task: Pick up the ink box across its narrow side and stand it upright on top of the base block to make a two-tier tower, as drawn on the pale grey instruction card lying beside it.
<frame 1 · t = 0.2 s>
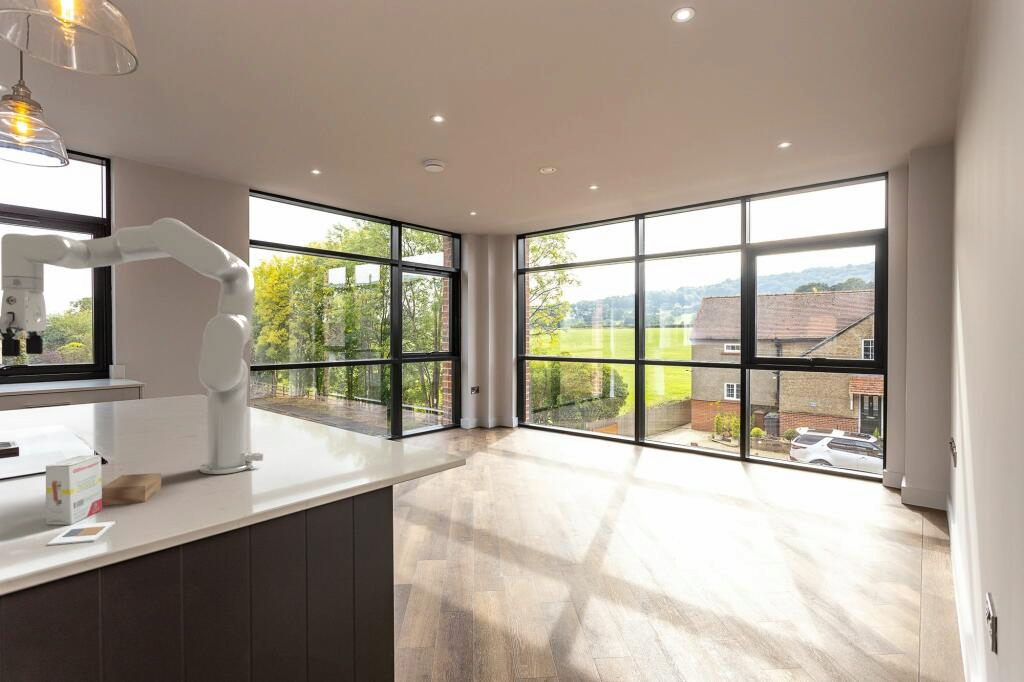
hand: (23, 355, 126), 31 cm above the worktop, fingers open, 9 cm apart
instruction card: (83, 533, 96), on the worktop
ink box: (74, 518, 104), on the worktop
base block: (133, 497, 117), on the worktop
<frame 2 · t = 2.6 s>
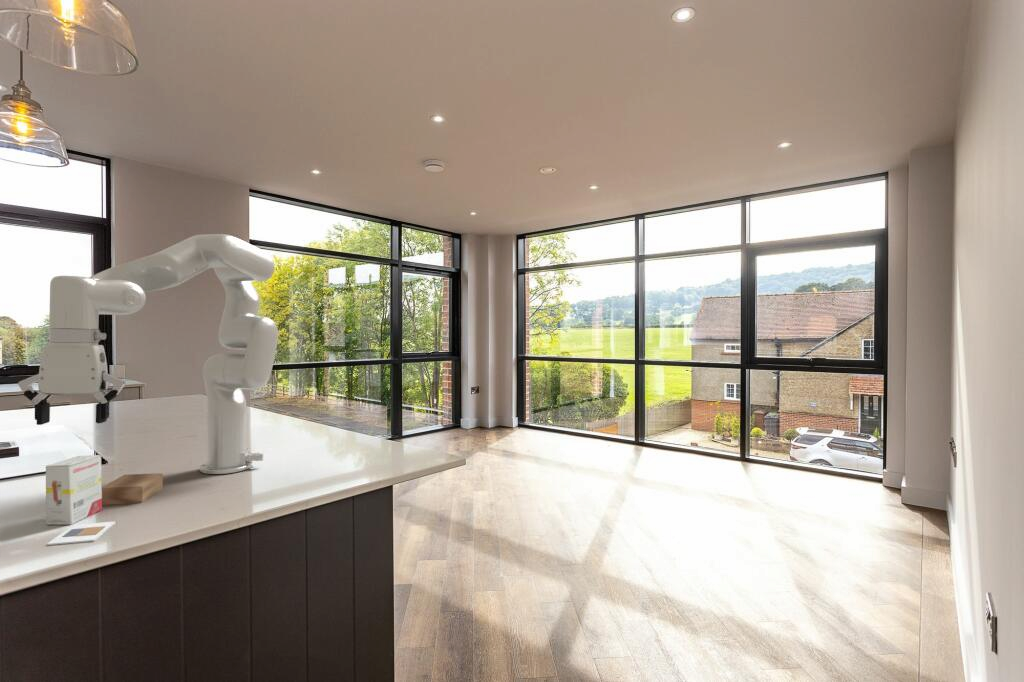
hand: (72, 422, 103), 19 cm above the worktop, fingers open, 9 cm apart
nothing on the worktop moved.
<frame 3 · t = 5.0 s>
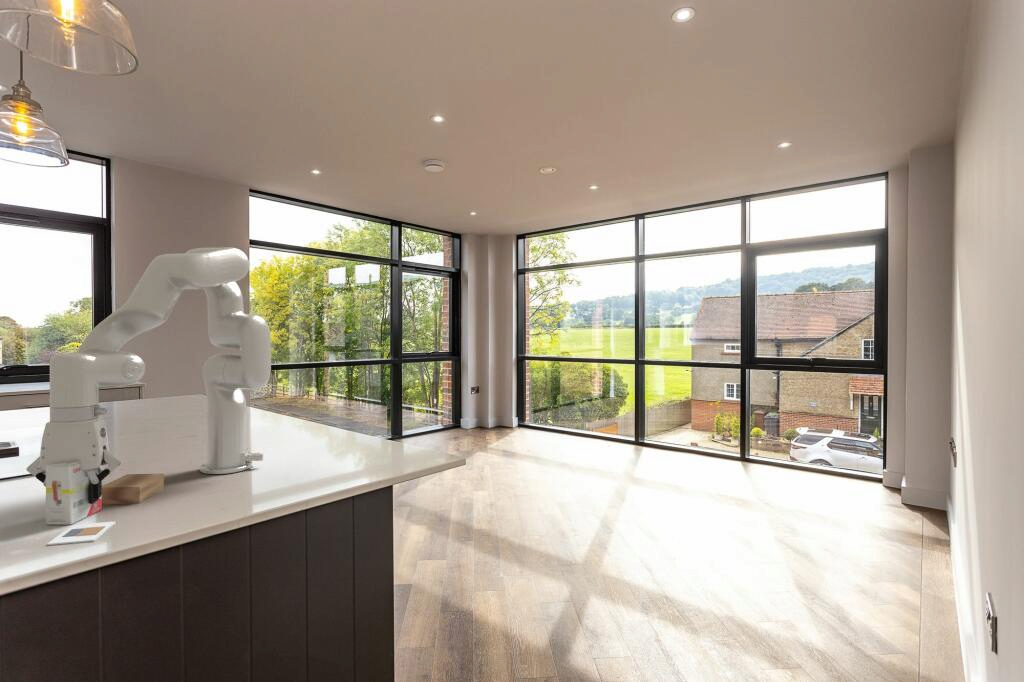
hand: (74, 502, 104), 3 cm above the worktop, fingers closed on ink box, 5 cm apart
ink box: (74, 518, 104), on the worktop, touching gripper
everything else where it was.
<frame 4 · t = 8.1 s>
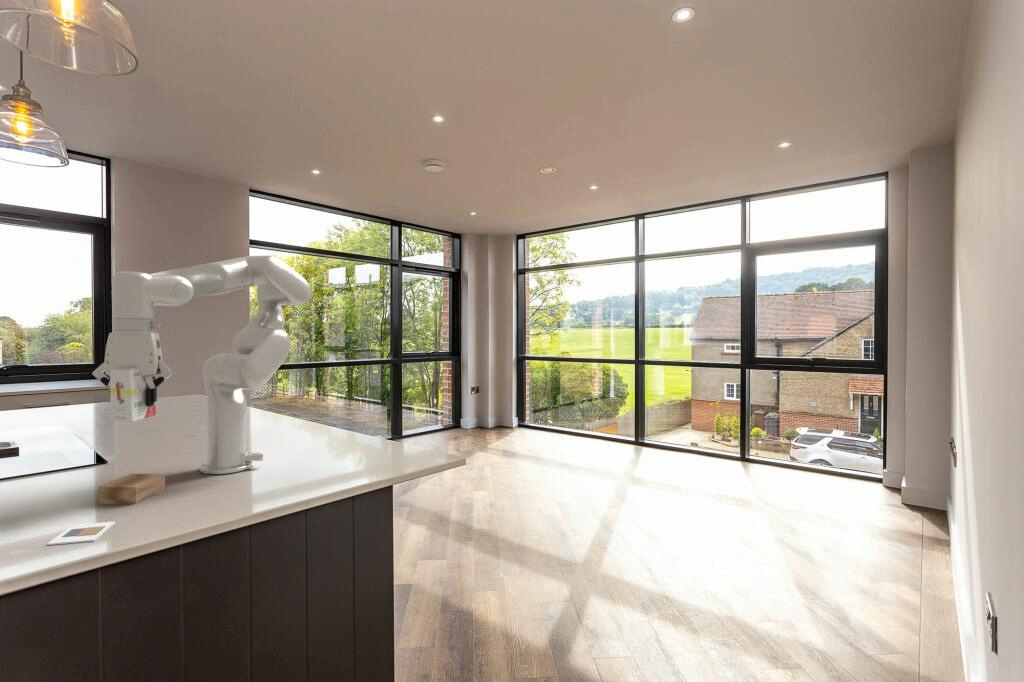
hand: (133, 405, 117), 21 cm above the worktop, fingers closed on ink box, 5 cm apart
ink box: (133, 419, 117), point 18 cm above the worktop, touching gripper
everything else where it was.
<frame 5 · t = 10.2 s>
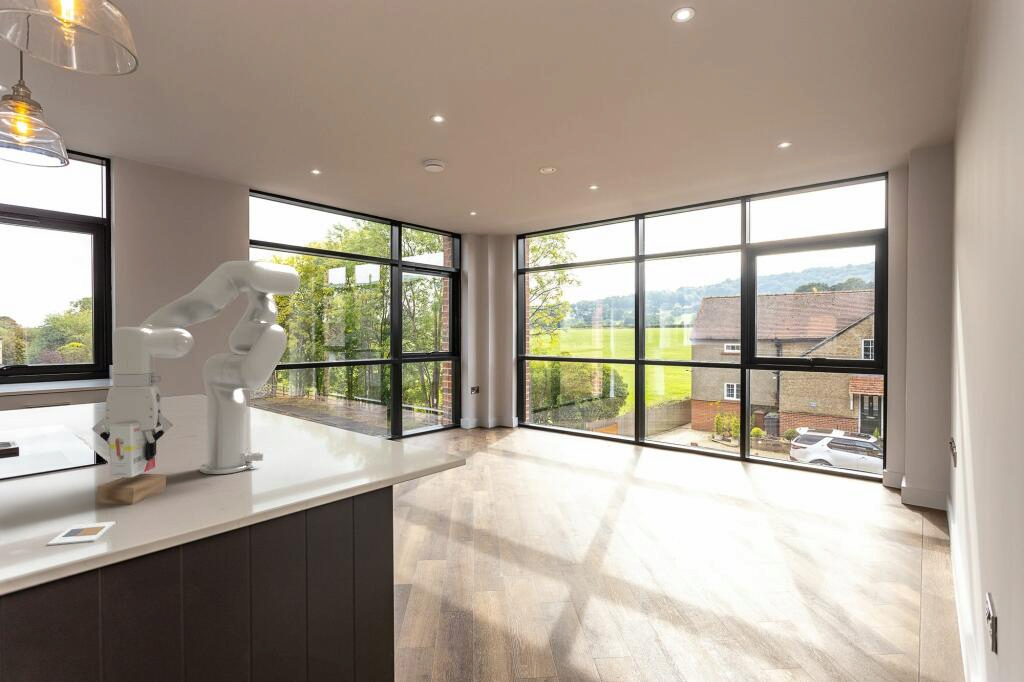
hand: (133, 459, 117), 8 cm above the worktop, fingers closed on ink box, 5 cm apart
ink box: (133, 473, 117), point 5 cm above the worktop, touching gripper
when the fingers open (8 cm above the worktop, at t = 11.2 s): ink box drops 1 cm, resting on base block.
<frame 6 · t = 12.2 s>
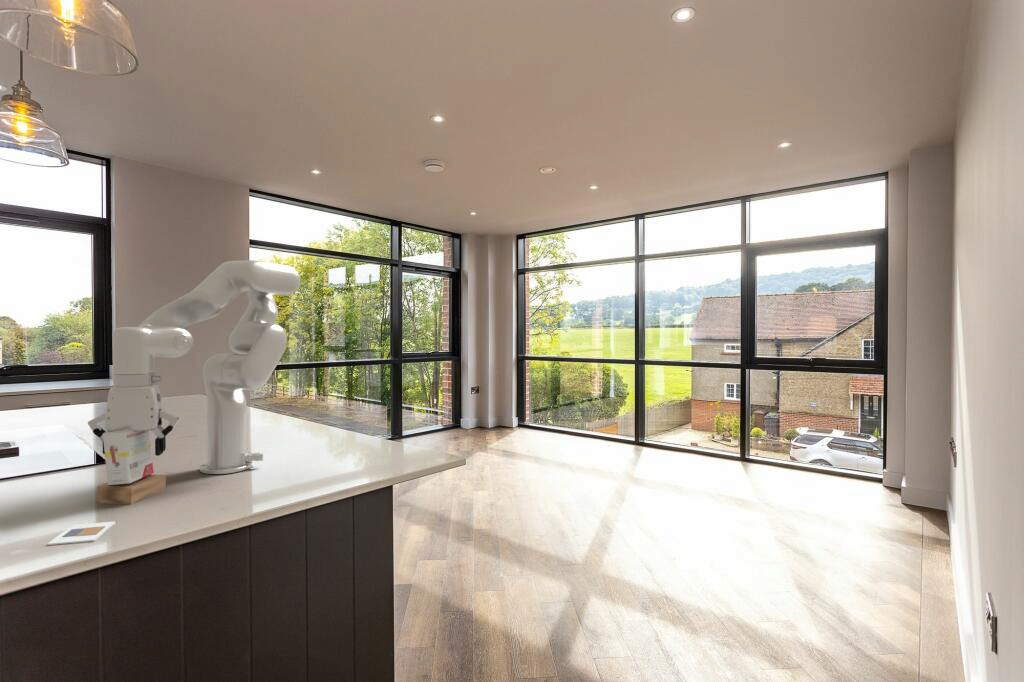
hand: (134, 455, 117), 9 cm above the worktop, fingers open, 9 cm apart
ink box: (131, 480, 117), point 4 cm above the worktop, touching base block, gripper
base block: (132, 497, 117), on the worktop, touching ink box
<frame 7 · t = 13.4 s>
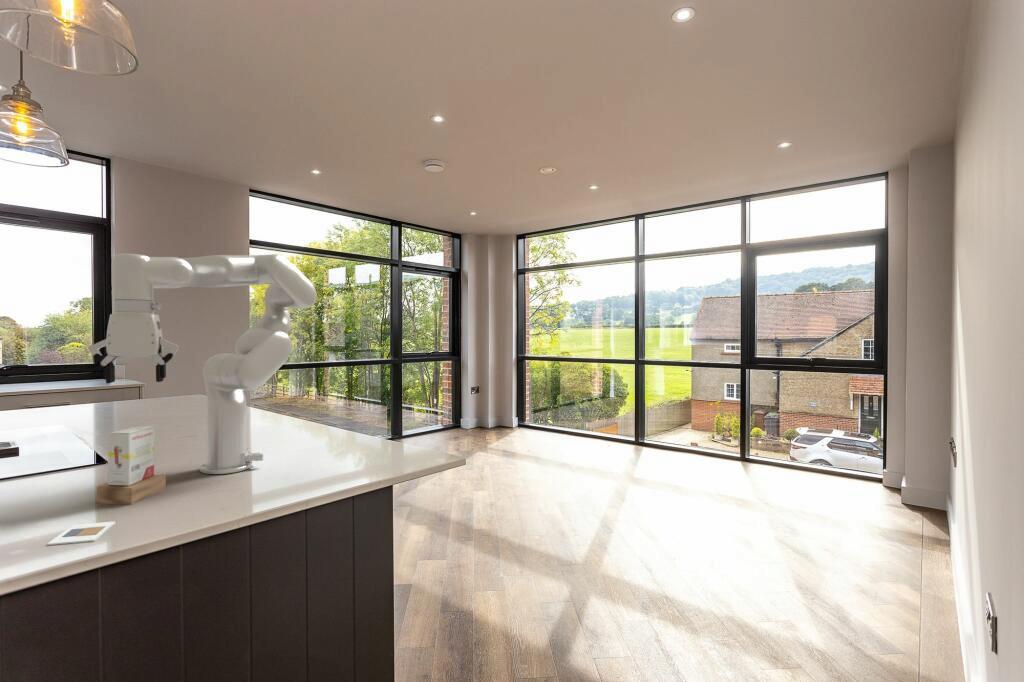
hand: (135, 381, 119), 26 cm above the worktop, fingers open, 9 cm apart
ink box: (131, 481, 117), point 3 cm above the worktop, touching base block
everything else where it was.
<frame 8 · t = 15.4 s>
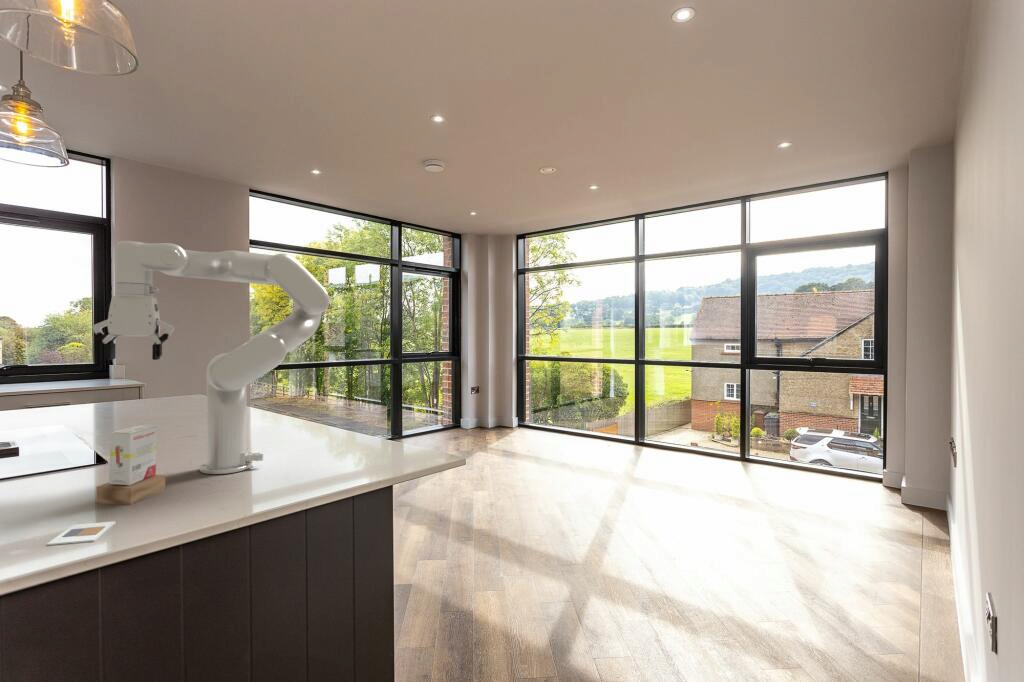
hand: (133, 359, 129), 30 cm above the worktop, fingers open, 9 cm apart
ink box: (132, 480, 117), point 4 cm above the worktop
base block: (132, 497, 117), on the worktop
at the end: ink box inside the target area on the base block (0.4 cm from its centre), point 4.0 cm above the base block's base; ink box tilted 3°; the gripper is holding nothing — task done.
